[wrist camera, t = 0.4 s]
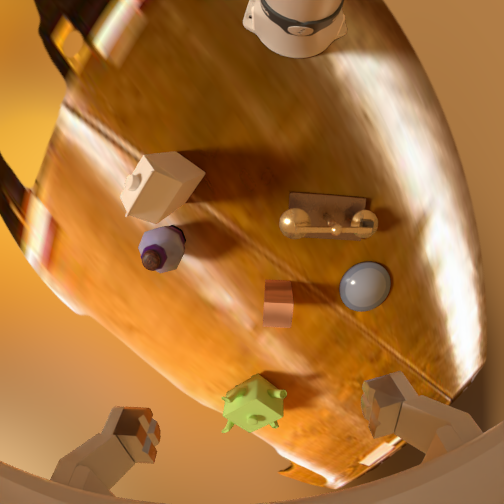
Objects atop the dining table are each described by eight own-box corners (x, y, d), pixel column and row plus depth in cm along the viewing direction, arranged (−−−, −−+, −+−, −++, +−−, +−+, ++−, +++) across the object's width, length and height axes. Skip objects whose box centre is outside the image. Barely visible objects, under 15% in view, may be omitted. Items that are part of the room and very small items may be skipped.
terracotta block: (265, 279, 59) (264, 302, 51) (290, 281, 59) (293, 303, 51) (264, 301, 61) (262, 326, 53) (288, 303, 61) (290, 327, 52)
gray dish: (343, 260, 57) (344, 261, 56) (393, 262, 56) (395, 264, 56) (335, 308, 61) (336, 311, 60) (383, 309, 60) (384, 311, 59)
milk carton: (206, 172, 53) (174, 187, 35) (185, 203, 55) (146, 232, 37) (176, 150, 52) (130, 156, 34) (155, 182, 54) (105, 201, 36)
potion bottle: (152, 215, 56) (125, 232, 45) (194, 220, 56) (175, 239, 45) (151, 256, 59) (127, 281, 48) (192, 262, 59) (174, 289, 48)
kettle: (226, 404, 73) (221, 436, 63) (223, 367, 68) (215, 400, 58) (283, 406, 72) (283, 439, 62) (286, 369, 67) (287, 403, 57)
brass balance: (279, 191, 53) (281, 202, 43) (373, 198, 52) (394, 211, 42) (277, 233, 56) (278, 254, 46) (367, 239, 55) (386, 260, 45)
